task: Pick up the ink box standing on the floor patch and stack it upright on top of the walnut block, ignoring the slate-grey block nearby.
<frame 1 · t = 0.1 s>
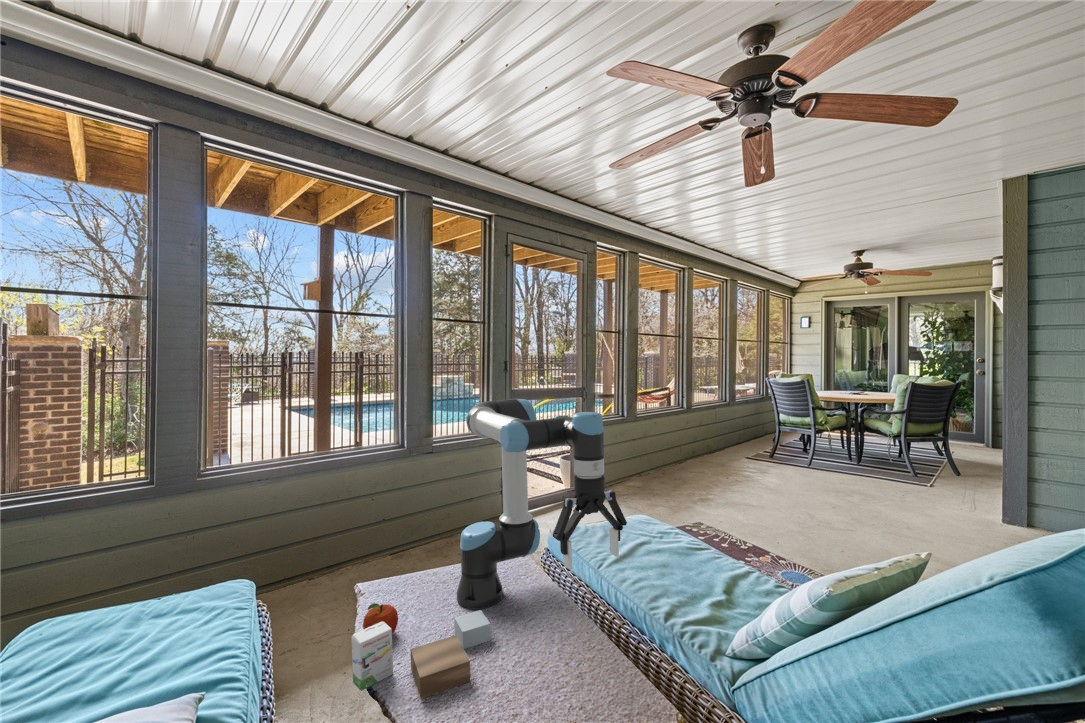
hand: (591, 560, 113), 28 cm above the table, fingers open, 13 cm apart
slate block: (472, 638, 130), on the table
fruit: (381, 637, 131), on the table
ink box: (373, 678, 114), on the table
walnut block: (440, 674, 114), on the table
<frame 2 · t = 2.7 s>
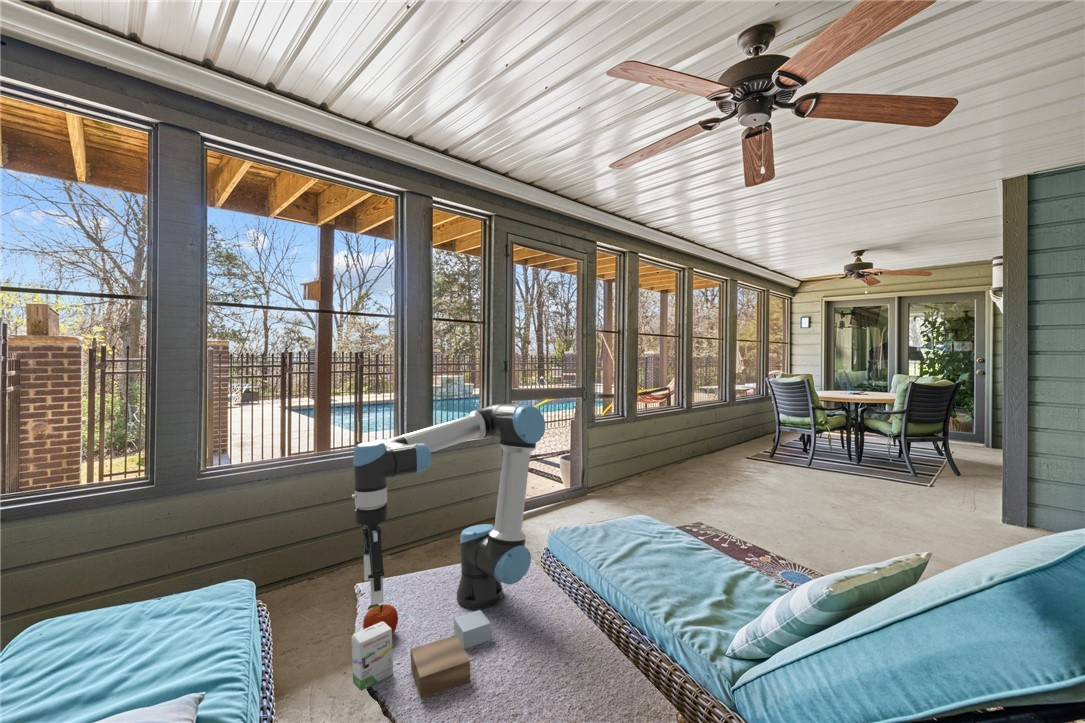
hand: (373, 590, 114), 22 cm above the table, fingers open, 13 cm apart
nothing on the table moved.
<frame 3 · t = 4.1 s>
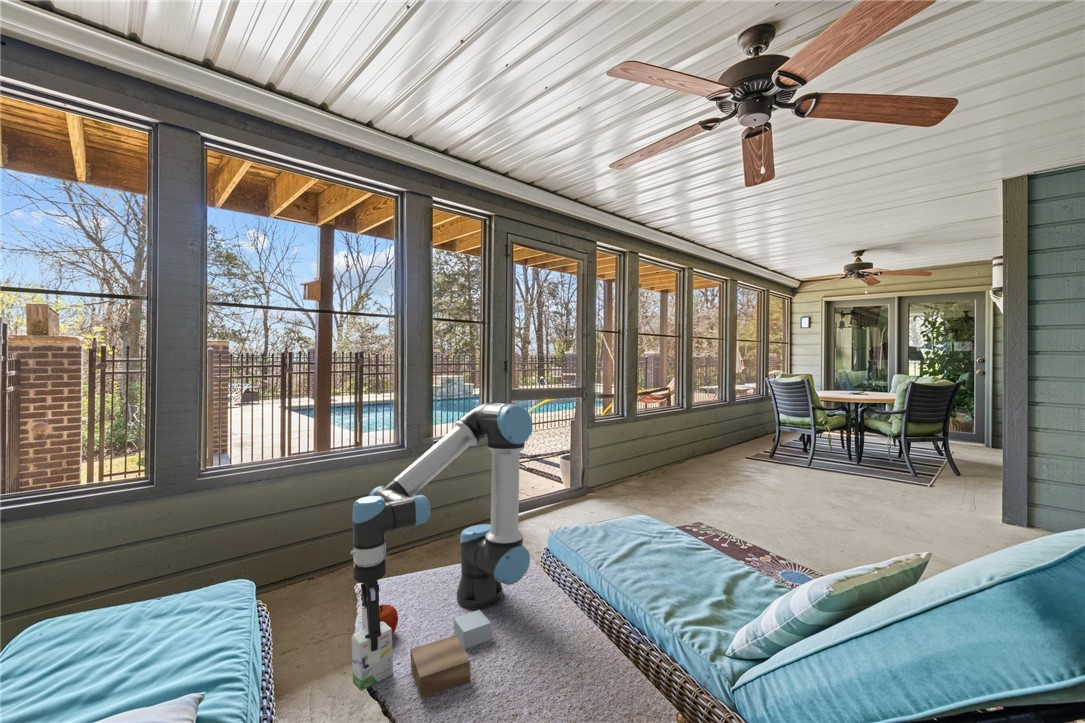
hand: (370, 646, 114), 8 cm above the table, fingers open, 13 cm apart
nothing on the table moved.
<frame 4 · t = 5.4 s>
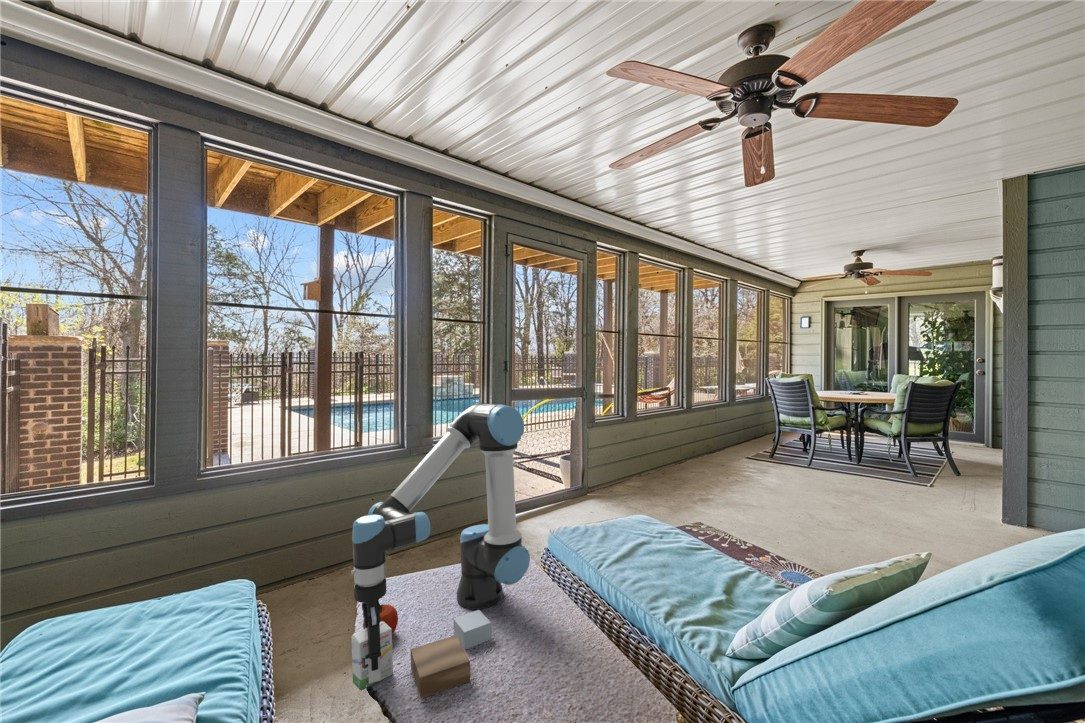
hand: (373, 672, 114), 1 cm above the table, fingers closed on ink box, 6 cm apart
ink box: (373, 678, 114), on the table, touching gripper
everything else where it was.
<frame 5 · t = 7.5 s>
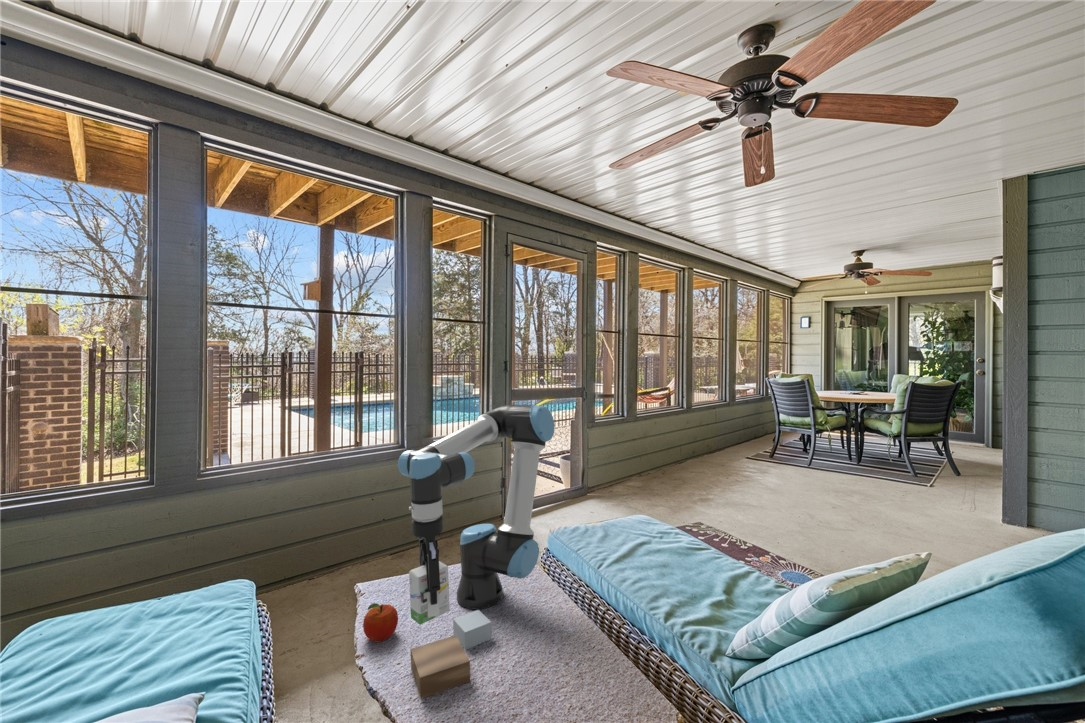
hand: (430, 608, 115), 17 cm above the table, fingers closed on ink box, 6 cm apart
ink box: (430, 615, 114), point 15 cm above the table, touching gripper
everything else where it was.
when the fingers open (8 cm above the table, at t = 9.6 s): ink box drops 1 cm, resting on walnut block.
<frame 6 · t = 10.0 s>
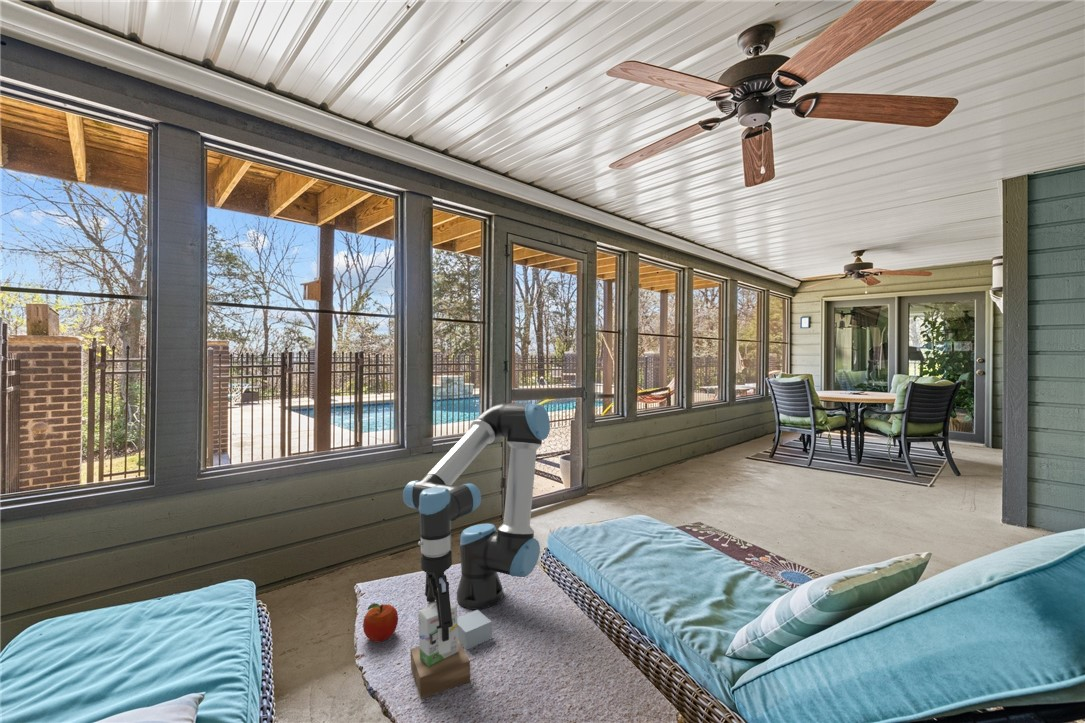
hand: (438, 639, 114), 9 cm above the table, fingers open, 11 cm apart
ink box: (439, 655, 114), point 5 cm above the table, touching walnut block
everything else where it was.
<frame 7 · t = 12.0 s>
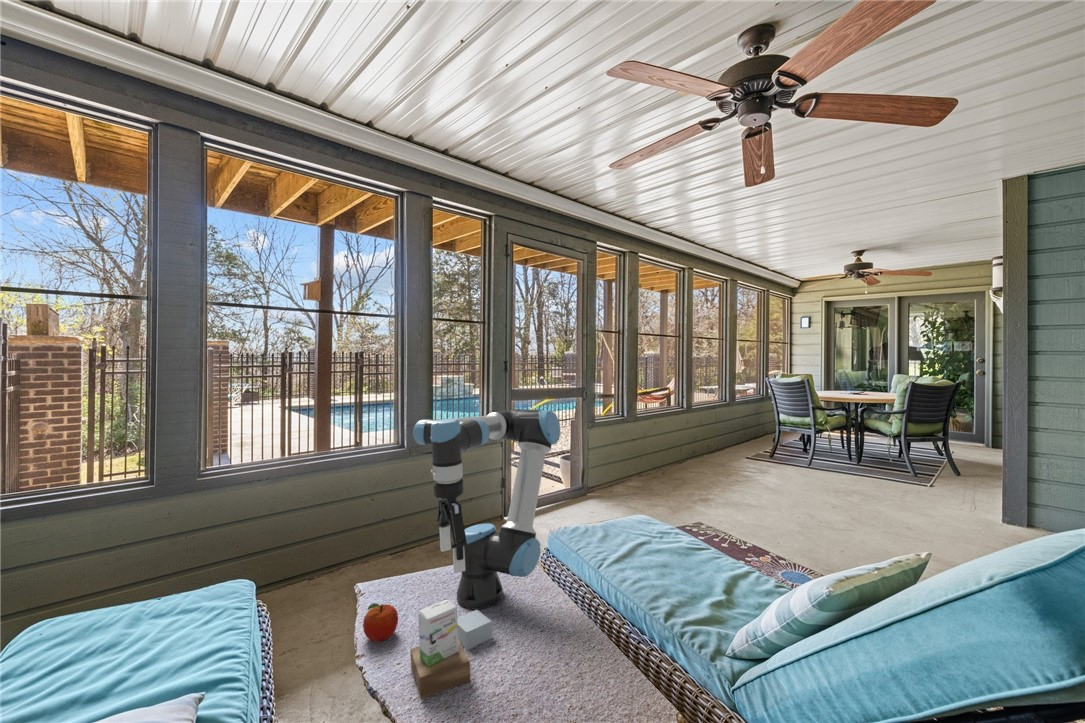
hand: (452, 560, 119), 27 cm above the table, fingers open, 13 cm apart
nothing on the table moved.
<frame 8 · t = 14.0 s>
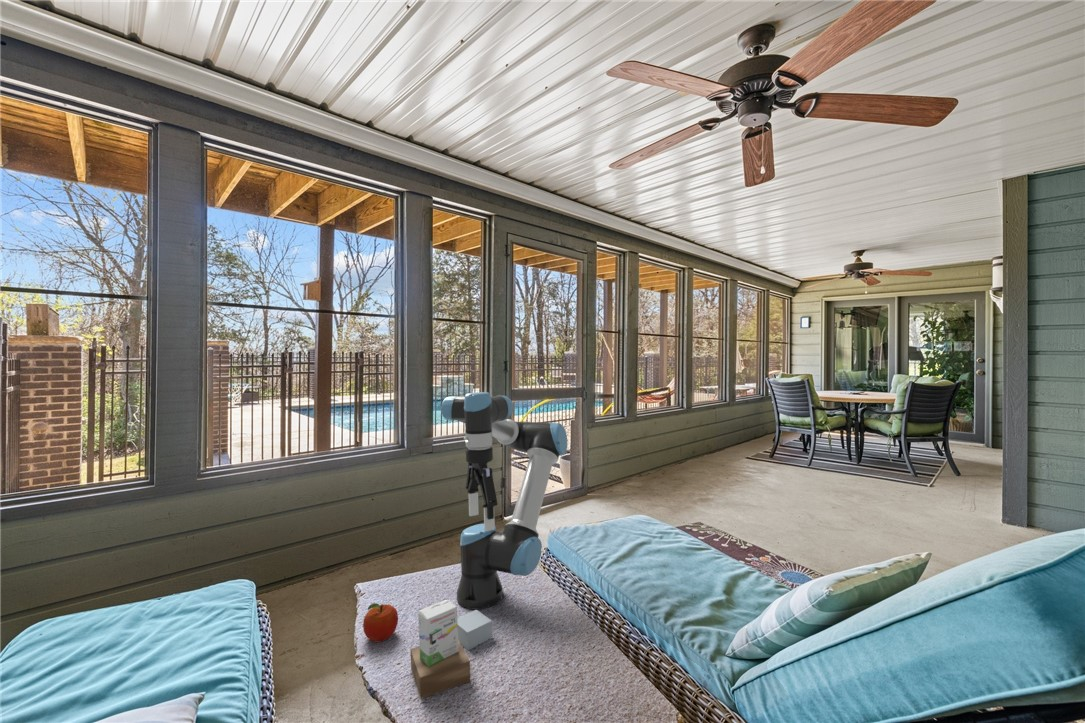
hand: (481, 522, 129), 33 cm above the table, fingers open, 13 cm apart
nothing on the table moved.
at the end: ink box inside the target area on the walnut block (0.0 cm from its centre), point 4.8 cm above the walnut block's base; ink box tilted 0°; the gripper is holding nothing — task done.
